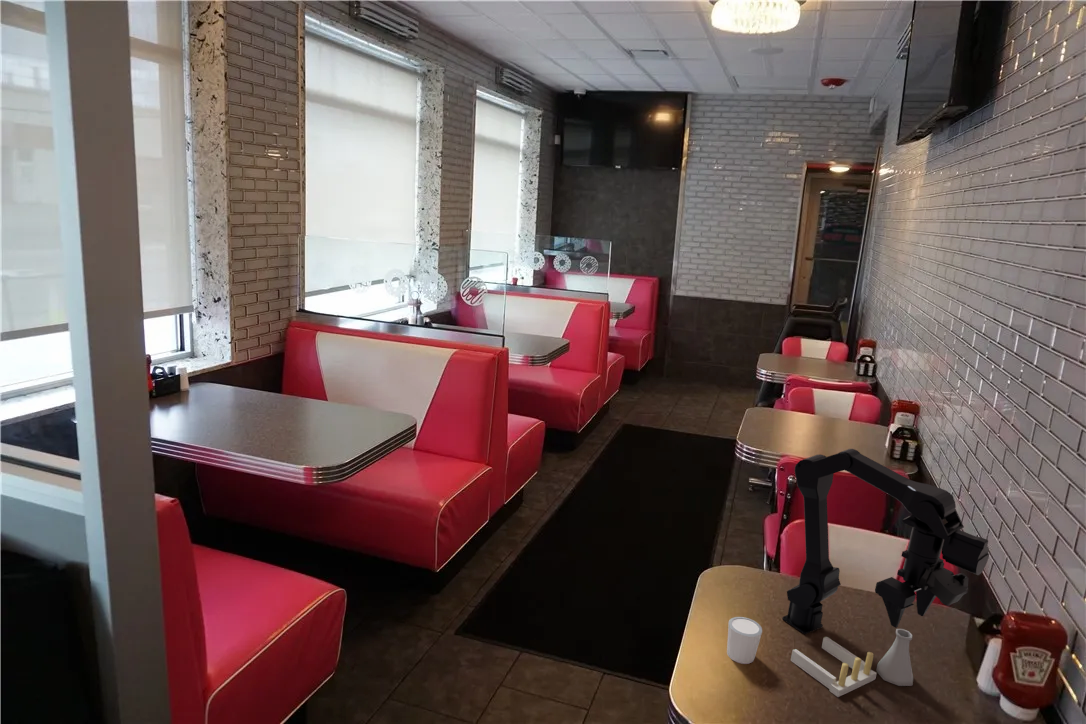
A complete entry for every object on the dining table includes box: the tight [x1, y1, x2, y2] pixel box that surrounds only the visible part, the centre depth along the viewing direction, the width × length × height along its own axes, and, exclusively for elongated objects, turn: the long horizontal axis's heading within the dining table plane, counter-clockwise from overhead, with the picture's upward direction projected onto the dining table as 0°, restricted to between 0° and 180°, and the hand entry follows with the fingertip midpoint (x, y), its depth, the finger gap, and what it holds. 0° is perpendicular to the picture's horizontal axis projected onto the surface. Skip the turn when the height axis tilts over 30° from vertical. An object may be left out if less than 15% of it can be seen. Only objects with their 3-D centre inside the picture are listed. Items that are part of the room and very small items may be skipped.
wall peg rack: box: [790, 636, 878, 698], centre depth 149 cm, size 12×12×6 cm
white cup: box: [726, 616, 763, 665], centre depth 152 cm, size 7×7×7 cm
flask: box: [875, 628, 914, 687], centre depth 149 cm, size 7×7×10 cm
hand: (907, 620), depth 147 cm, fingers open, 9 cm apart
